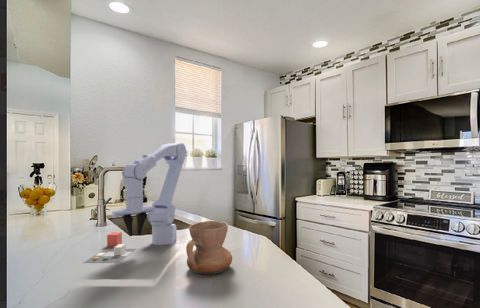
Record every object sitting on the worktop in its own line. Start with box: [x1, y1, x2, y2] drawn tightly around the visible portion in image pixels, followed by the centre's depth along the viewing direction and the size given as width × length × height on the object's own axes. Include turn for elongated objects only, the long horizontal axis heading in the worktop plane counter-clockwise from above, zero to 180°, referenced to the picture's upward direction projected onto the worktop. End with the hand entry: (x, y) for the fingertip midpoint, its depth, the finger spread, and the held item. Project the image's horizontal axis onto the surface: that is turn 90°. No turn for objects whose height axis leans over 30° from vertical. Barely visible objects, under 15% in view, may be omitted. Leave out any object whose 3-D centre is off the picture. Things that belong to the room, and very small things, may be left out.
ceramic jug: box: [185, 220, 233, 275], centre depth 86 cm, size 18×14×14 cm
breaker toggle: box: [113, 243, 126, 255], centre depth 97 cm, size 2×4×3 cm, turn 178°
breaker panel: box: [82, 248, 137, 264], centre depth 96 cm, size 12×14×2 cm
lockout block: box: [106, 231, 123, 247], centre depth 108 cm, size 4×4×6 cm
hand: (134, 234), depth 97 cm, fingers open, 2 cm apart
